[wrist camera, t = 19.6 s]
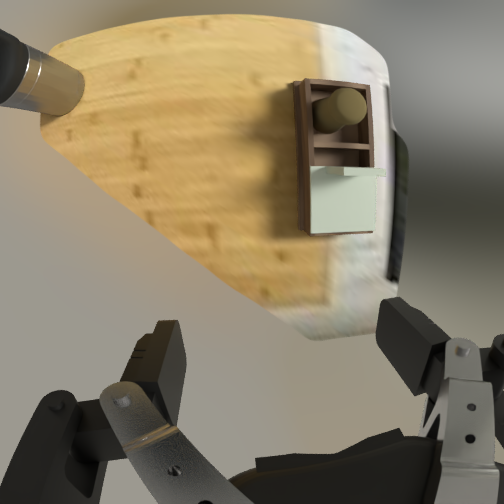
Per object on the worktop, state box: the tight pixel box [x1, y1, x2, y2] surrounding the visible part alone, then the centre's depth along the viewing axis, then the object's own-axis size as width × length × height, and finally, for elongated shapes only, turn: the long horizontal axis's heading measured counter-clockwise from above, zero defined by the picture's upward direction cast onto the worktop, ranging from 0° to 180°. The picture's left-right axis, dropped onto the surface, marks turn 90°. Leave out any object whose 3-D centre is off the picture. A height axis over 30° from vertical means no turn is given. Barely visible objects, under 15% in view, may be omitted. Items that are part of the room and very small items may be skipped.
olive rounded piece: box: [312, 88, 367, 134], centre depth 37 cm, size 6×6×11 cm
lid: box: [310, 166, 386, 234], centre depth 38 cm, size 11×10×8 cm
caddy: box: [293, 78, 374, 236], centre depth 42 cm, size 12×24×5 cm, turn 3°
